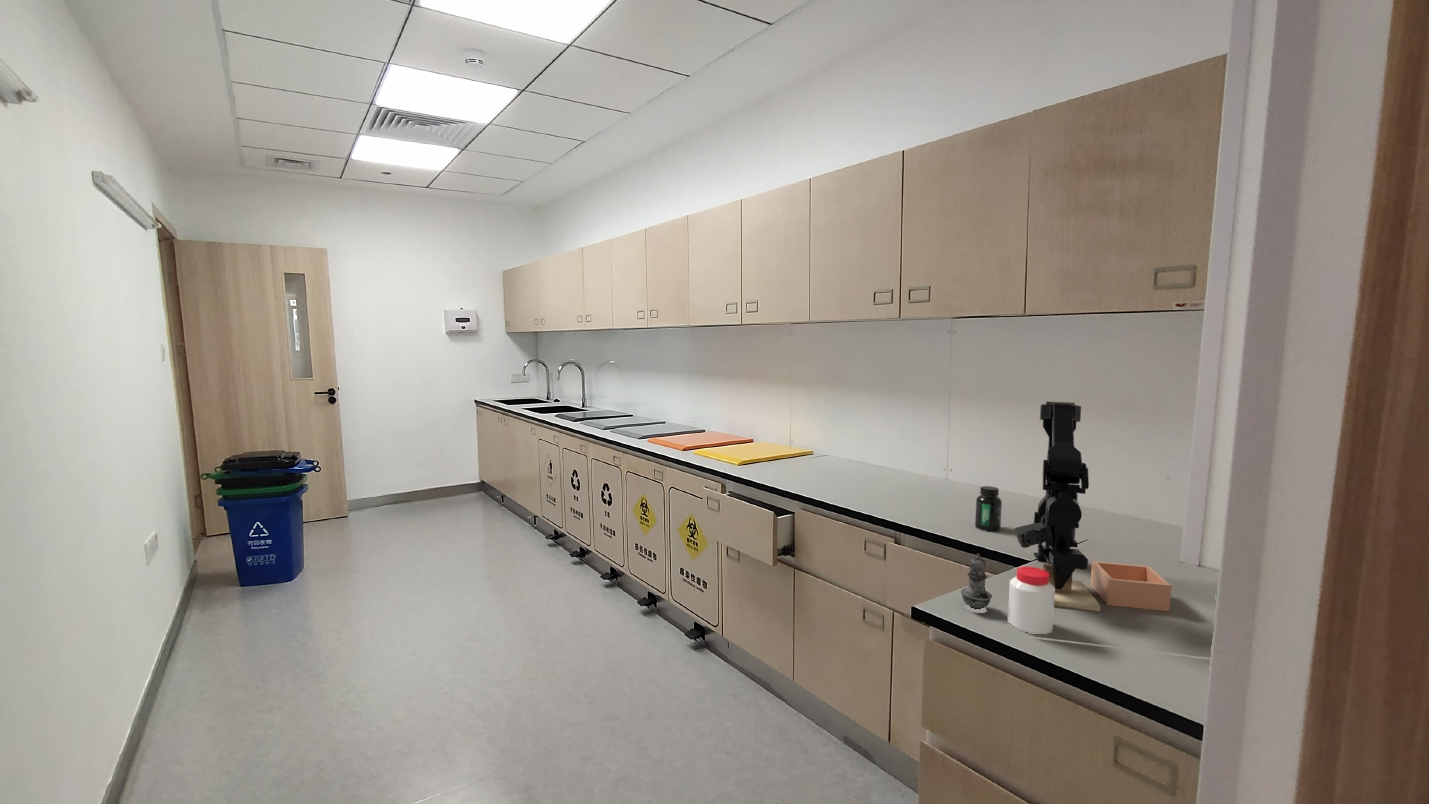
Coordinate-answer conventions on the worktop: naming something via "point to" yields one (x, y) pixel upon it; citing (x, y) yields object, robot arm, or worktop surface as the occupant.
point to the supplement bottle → (988, 509)
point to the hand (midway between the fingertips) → (1056, 585)
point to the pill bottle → (1031, 601)
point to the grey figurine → (976, 585)
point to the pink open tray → (1130, 586)
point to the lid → (1072, 593)
